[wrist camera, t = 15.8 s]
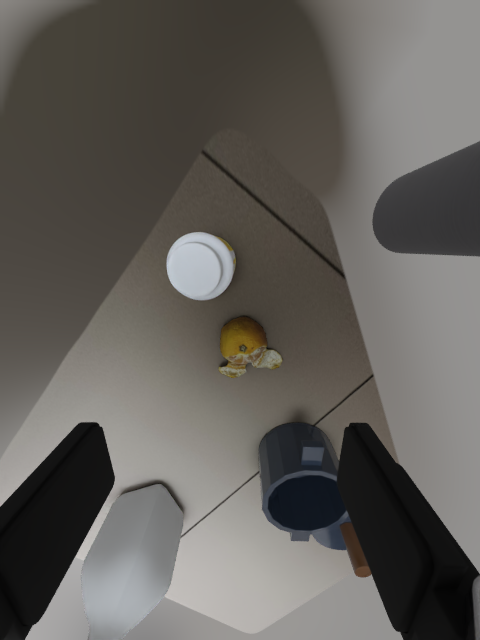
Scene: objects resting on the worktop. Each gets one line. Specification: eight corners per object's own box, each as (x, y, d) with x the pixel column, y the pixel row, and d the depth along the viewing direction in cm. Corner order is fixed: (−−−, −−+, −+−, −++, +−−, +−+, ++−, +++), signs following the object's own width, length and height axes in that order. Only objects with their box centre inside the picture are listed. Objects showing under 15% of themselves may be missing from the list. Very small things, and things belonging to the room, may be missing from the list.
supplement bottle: (181, 242, 25) (143, 240, 16) (229, 230, 25) (220, 219, 15) (196, 290, 27) (169, 314, 17) (241, 279, 27) (240, 298, 17)
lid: (386, 496, 37) (415, 546, 31) (372, 543, 41) (395, 597, 35) (313, 494, 37) (328, 544, 31) (306, 541, 41) (317, 594, 35)
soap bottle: (113, 490, 38) (-61, 819, 16) (164, 475, 37) (50, 809, 15) (142, 526, 40) (25, 849, 19) (190, 513, 39) (125, 843, 18)
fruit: (224, 379, 31) (222, 396, 27) (204, 324, 28) (199, 335, 25) (283, 365, 30) (289, 380, 27) (268, 306, 28) (272, 315, 24)
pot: (338, 407, 32) (366, 454, 25) (323, 490, 37) (342, 549, 30) (261, 406, 32) (266, 451, 25) (256, 489, 37) (259, 546, 30)
